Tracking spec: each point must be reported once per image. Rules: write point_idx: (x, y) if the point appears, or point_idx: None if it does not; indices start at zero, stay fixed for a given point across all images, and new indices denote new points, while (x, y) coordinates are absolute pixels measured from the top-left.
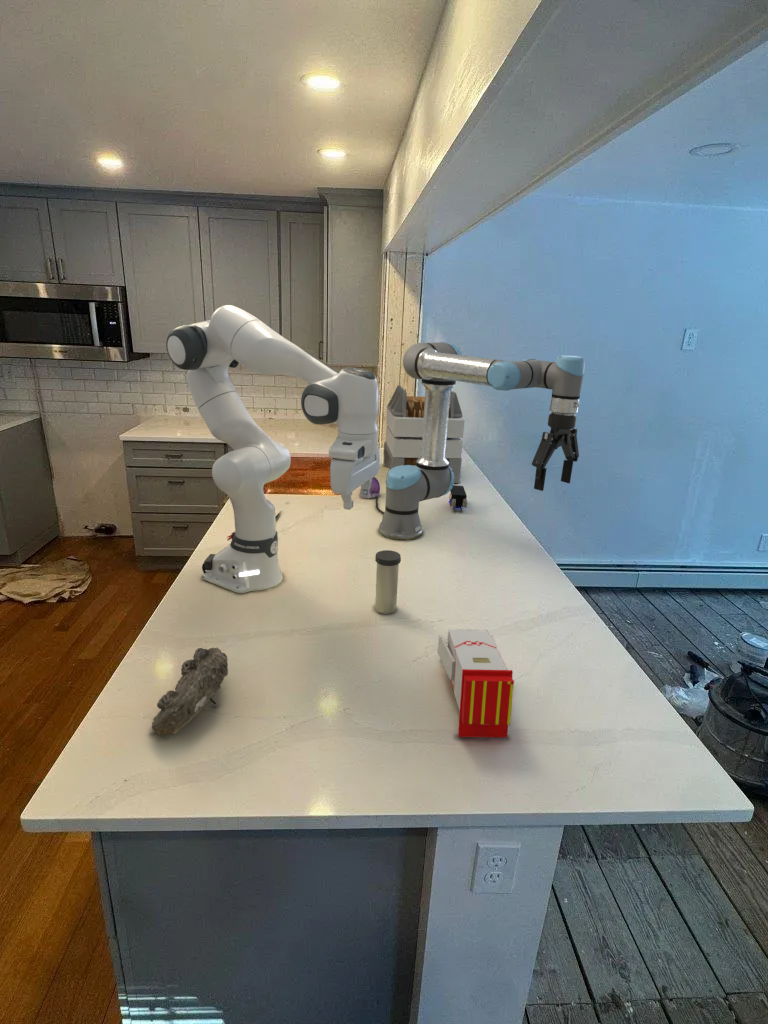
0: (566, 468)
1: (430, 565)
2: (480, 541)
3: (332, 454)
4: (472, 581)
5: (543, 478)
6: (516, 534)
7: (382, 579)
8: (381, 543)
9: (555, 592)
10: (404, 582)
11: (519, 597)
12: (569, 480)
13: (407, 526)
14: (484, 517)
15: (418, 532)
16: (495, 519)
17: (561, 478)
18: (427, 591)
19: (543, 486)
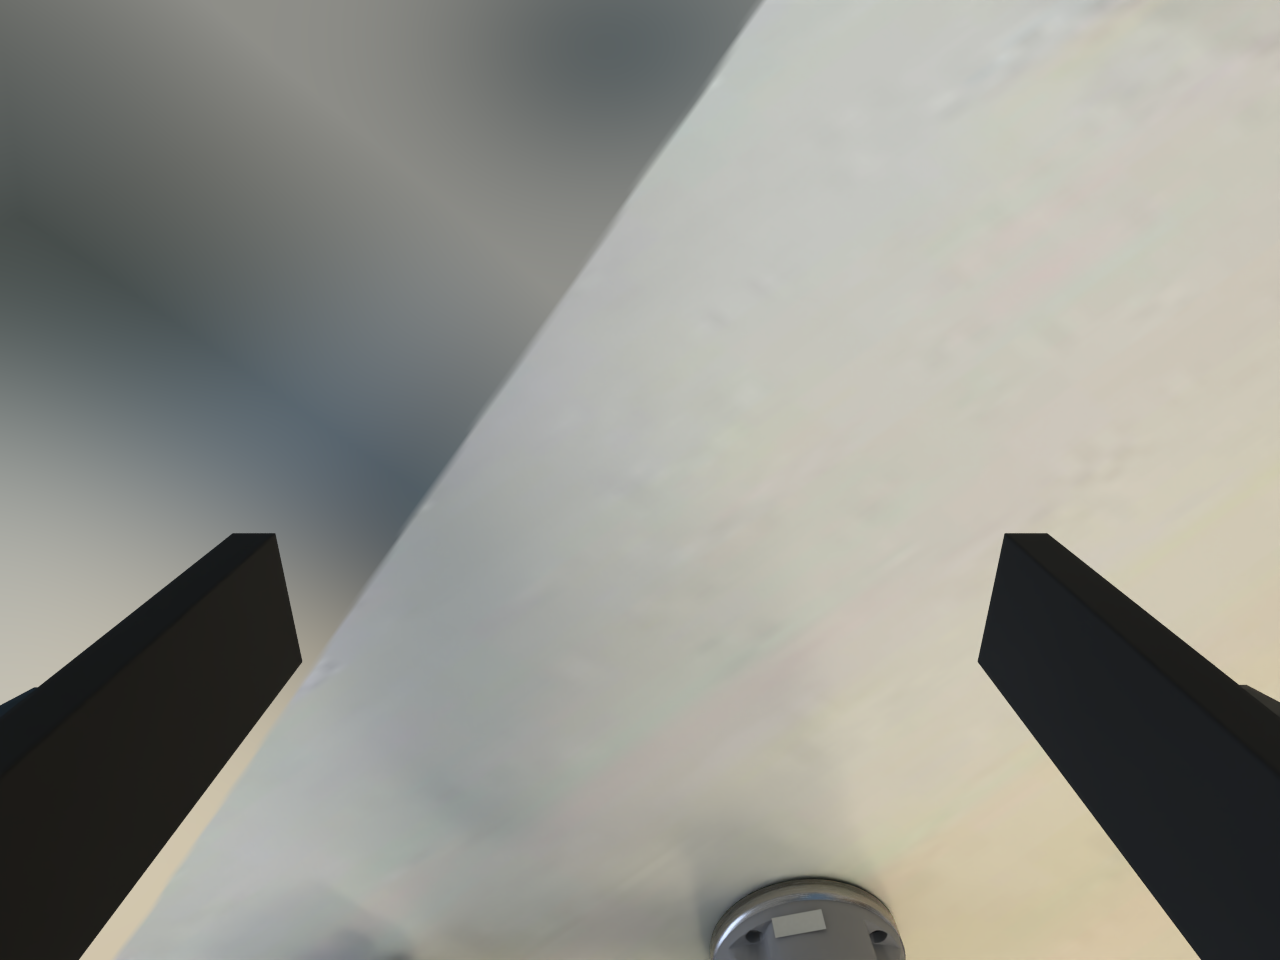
0: (133, 780)
1: (992, 682)
2: (580, 725)
3: None
4: (999, 475)
5: (1202, 662)
6: (345, 687)
7: None
8: (957, 911)
9: (785, 125)
10: (1221, 635)
11: (988, 218)
12: (231, 556)
13: (862, 951)
14: (328, 880)
15: (795, 902)
16: (296, 843)
17: (277, 684)
18: (1235, 526)
19: (1056, 567)
